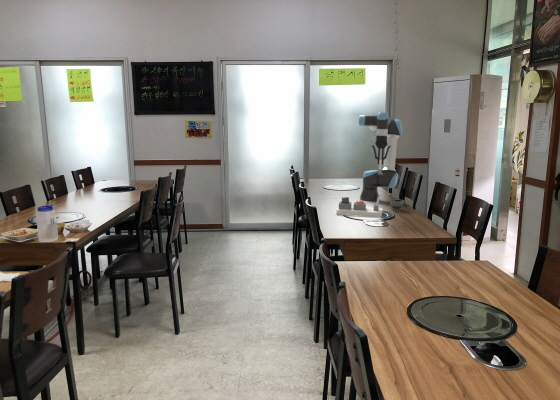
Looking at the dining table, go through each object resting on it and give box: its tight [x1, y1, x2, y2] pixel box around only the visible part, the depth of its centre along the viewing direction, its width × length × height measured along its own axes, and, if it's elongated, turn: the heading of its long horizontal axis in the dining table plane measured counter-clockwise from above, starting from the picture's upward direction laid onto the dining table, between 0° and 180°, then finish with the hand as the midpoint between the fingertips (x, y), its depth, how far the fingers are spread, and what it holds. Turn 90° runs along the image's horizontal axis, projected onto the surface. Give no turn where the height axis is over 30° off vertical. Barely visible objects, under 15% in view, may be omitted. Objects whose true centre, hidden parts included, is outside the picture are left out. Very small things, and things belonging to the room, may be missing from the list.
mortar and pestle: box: [387, 192, 405, 212], centre depth 323 cm, size 11×9×12 cm
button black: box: [341, 196, 350, 204], centre depth 313 cm, size 5×5×5 cm
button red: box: [355, 199, 365, 204], centre depth 311 cm, size 5×5×5 cm
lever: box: [375, 194, 381, 206], centre depth 308 cm, size 4×1×10 cm, turn 166°
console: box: [335, 200, 383, 218], centre depth 311 cm, size 16×30×7 cm, turn 76°
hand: (380, 169), depth 318 cm, fingers closed
